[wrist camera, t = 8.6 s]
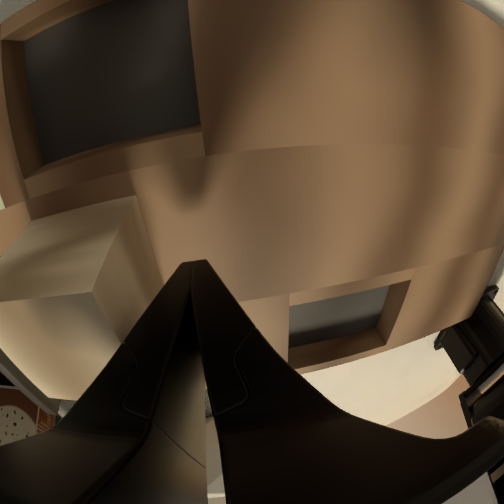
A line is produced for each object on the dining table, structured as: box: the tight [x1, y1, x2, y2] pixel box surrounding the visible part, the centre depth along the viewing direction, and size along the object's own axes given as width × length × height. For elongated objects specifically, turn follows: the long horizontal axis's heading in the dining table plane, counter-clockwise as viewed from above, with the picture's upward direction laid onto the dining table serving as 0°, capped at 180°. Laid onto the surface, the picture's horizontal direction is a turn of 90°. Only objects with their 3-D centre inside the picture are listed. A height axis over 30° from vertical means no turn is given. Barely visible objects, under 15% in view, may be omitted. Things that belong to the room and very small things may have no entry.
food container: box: [0, 385, 55, 446], centre depth 15 cm, size 12×6×10 cm, turn 100°
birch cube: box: [0, 195, 164, 401], centre depth 8 cm, size 4×4×4 cm
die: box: [205, 416, 225, 498], centre depth 20 cm, size 8×9×10 cm
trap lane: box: [0, 0, 504, 415], centre depth 10 cm, size 32×20×4 cm, turn 94°
